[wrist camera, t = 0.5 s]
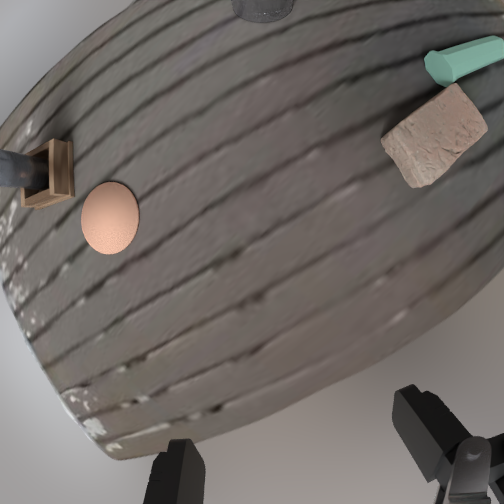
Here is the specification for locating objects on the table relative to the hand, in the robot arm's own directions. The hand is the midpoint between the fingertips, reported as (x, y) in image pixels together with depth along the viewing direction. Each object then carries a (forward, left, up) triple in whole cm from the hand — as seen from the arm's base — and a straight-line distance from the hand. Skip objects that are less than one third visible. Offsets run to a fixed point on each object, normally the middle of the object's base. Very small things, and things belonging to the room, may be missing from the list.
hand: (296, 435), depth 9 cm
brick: (-17, +24, -27) cm, 40 cm away
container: (-32, +39, -27) cm, 57 cm away
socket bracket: (-21, -33, -26) cm, 47 cm away
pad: (-12, -22, -26) cm, 36 cm away
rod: (-21, -33, -25) cm, 47 cm away
